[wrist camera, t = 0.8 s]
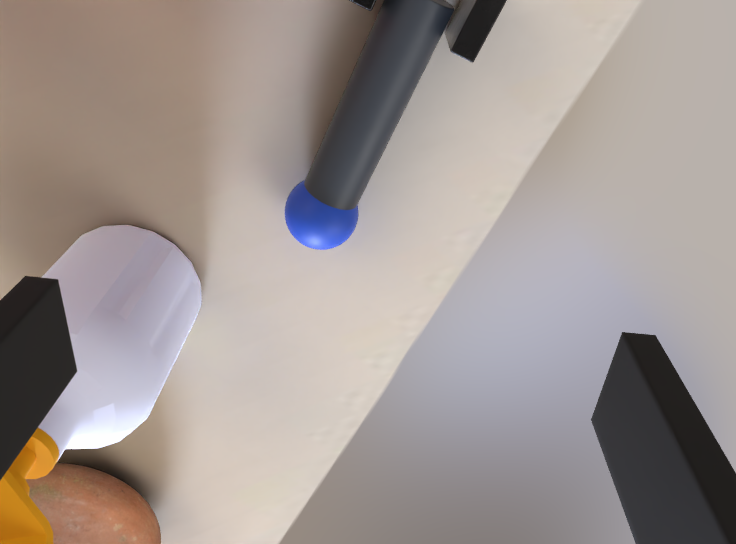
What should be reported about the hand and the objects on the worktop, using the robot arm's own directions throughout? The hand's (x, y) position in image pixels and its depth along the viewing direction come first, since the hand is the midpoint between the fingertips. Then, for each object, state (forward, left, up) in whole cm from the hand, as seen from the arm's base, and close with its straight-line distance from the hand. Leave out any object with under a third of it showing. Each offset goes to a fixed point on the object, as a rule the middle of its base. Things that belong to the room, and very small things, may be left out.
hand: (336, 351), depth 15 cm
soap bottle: (+18, -9, -23) cm, 30 cm away
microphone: (+2, 0, -22) cm, 22 cm away
